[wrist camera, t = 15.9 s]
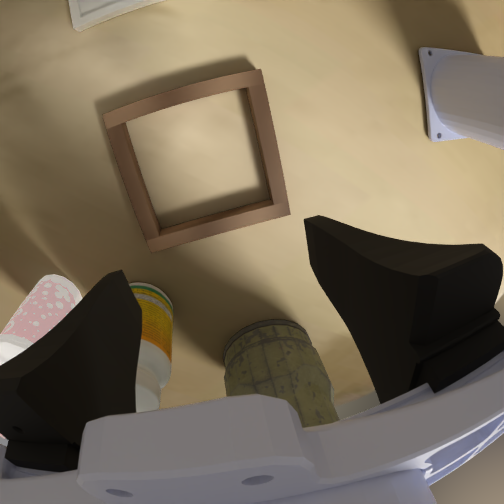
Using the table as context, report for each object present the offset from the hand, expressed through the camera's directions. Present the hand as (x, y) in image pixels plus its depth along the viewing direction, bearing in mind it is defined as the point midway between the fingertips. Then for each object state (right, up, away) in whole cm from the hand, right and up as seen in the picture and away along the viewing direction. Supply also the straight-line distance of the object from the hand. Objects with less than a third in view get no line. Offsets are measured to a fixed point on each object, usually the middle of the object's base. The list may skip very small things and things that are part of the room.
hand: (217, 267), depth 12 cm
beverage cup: (-15, -3, +11) cm, 19 cm away
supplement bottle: (-8, -4, +13) cm, 16 cm away
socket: (-2, +7, +8) cm, 11 cm away
